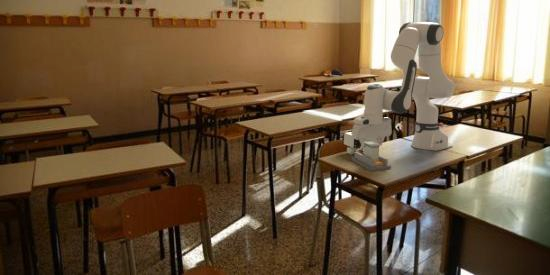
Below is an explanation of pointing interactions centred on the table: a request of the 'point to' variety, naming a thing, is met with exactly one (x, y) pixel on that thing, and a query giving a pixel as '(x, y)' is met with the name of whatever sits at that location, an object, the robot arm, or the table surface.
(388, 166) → the channel rail
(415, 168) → the table surface
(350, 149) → the pneumatic valve
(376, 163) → the brown flat bar
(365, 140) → the ink cartridge box
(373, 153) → the module block
